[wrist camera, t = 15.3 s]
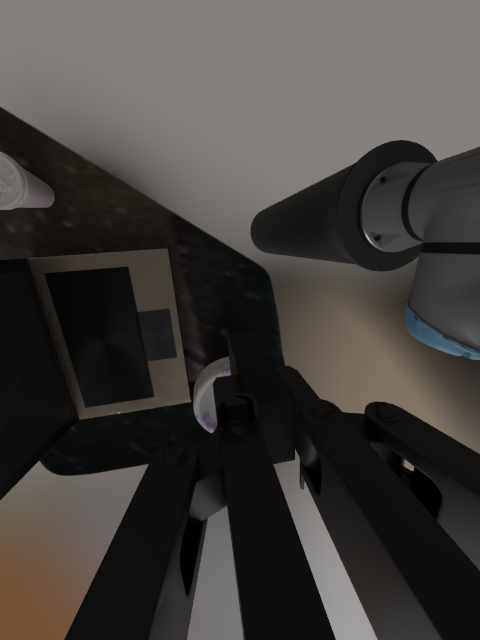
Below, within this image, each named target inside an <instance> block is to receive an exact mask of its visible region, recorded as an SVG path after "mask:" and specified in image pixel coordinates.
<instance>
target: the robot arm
mask: <svg viewBox="0 0 480 640" xmlns="http://www.w3.org/2000/svg"><path fill="white" fill-rule="evenodd" d="M357 225H358V229H359V232H360V234H361V237H362V238H363V240H364V241H365V242H366V243H367V245H369V246H370V247H371V248H373V249H375V250H378V251H381V252H399V251H403V250H406V249H408V248H411V247H414V246H416V245H419V244H422V247H421V251H420V254H419V259H418V263H417V267H416V271H415V275H414V279H413V284H412V288H411V292H410V296H409V299H408V300H407V303H406V305H407V312H406V318H405V325H406V328H407V329H408V331H409V332H410V334H412V335H413V336H414V337H415V338H417V339H418V340H419V341H421V342H423V343H425V344H427V345H429V346H431V347H433V348H436V349H438V350H441V351H443V352H446V353H449V354H452V355H456V356H461V355H462V356H464V357H467V358H469V359H475V360H480V147H478V148H475V149H472V150H469V151H466V152H464V153H461V154H458V155H455V156H452V157H449V158H446V159H444V160H441V161H438V162H435V163H416V162H401V163H398V164H395V165H392V166H390V167H387V168H385V169H383V170H381V171H380V172H378V173H377V174H376V175H375V176H374V177H373V178H372V179H371V180H370V181H369V182H368V184H367V185H366V187H365V188H364V190H363V192H362V194H361V197H360V200H359V203H358V208H357ZM227 339H228V350H229V362H230V373H231V375H228V376H222V377H216V379H215V381H214V382H213V392H214V401H215V409H216V418H217V426H216V429H215V430H214V432H213V433H212V434H211V435H210V436H209V437H208V438H206V439H204V440H202V441H200V442H198V443H196V444H195V443H194V442H193V441H191V440H190V439H185V438H178V439H173V440H171V441H168V442H166V443H164V444H163V445H162V446H160V447H159V448H158V449H157V451H156V452H155V453H154V455H153V456H152V459H151V461H150V463H149V465H148V467H147V469H146V471H145V474H144V475H143V477H142V480H141V481H140V483H139V486H138V488H137V490H136V492H135V494H134V496H133V498H132V500H131V503H130V504H129V506H128V508H127V511H126V513H125V515H124V517H123V519H122V521H121V523H120V525H119V527H118V529H117V531H116V534H115V536H114V538H113V540H112V542H111V544H110V546H109V548H108V550H107V552H106V555H105V556H104V559H103V561H102V563H101V565H100V567H99V569H98V571H97V573H96V575H95V577H94V579H93V581H92V583H91V585H90V588H89V590H88V592H87V594H86V596H85V598H84V600H83V602H82V604H81V606H80V608H79V611H78V613H77V615H76V617H75V619H74V621H73V623H72V625H71V627H70V629H69V631H68V633H67V635H66V637H65V640H187V635H188V629H189V624H190V617H191V612H192V606H193V600H194V595H195V589H196V583H197V577H198V572H199V566H200V561H201V555H202V549H203V543H204V538H205V532H206V525H207V519H208V517H209V516H211V515H213V514H214V513H216V512H218V511H219V510H221V509H222V508H224V507H226V506H227V509H228V517H229V524H230V532H231V540H232V549H233V556H234V565H235V572H236V581H237V589H238V597H239V604H240V613H241V621H242V629H243V637H244V640H336V639H335V636H334V634H333V631H332V628H331V625H330V622H329V619H328V617H327V614H326V611H325V608H324V606H323V603H322V600H321V597H320V594H319V591H318V589H317V586H316V583H315V580H314V577H313V575H312V572H311V569H310V567H309V563H308V561H307V558H306V555H305V552H304V549H303V547H302V544H301V541H300V538H299V536H298V533H297V530H296V527H295V524H294V521H293V518H292V516H291V513H290V510H289V507H288V504H287V502H286V499H285V496H284V493H283V490H282V488H281V485H280V482H279V479H278V477H277V474H276V471H275V468H274V465H273V464H277V463H282V462H287V461H292V460H295V449H296V451H297V453H298V455H299V457H300V487H301V489H304V480H305V482H306V484H307V487H308V489H309V491H310V493H311V495H312V497H313V500H314V502H315V504H316V506H317V508H318V511H319V513H320V515H321V517H322V519H323V521H324V524H325V526H326V528H327V530H328V532H329V534H330V537H331V539H332V541H333V543H334V545H335V547H336V550H337V552H338V554H339V556H340V558H341V561H342V563H343V565H344V567H345V569H346V571H347V574H348V576H349V578H350V580H351V582H352V584H353V587H354V589H355V591H356V593H357V595H358V597H359V600H360V602H361V604H362V606H363V608H364V611H365V613H366V615H367V617H368V619H369V621H370V624H371V626H372V628H373V630H374V632H375V635H376V637H377V639H378V640H480V454H479V453H477V452H475V451H473V450H472V449H470V448H468V447H467V446H465V445H463V444H462V443H460V442H458V441H456V440H455V439H453V438H451V437H450V436H448V435H446V434H445V433H443V432H441V431H439V430H438V429H436V428H434V427H433V426H431V425H429V424H427V423H426V422H424V421H422V420H421V419H419V418H417V417H415V416H414V415H412V414H410V413H409V412H407V411H405V410H404V409H402V408H400V407H398V406H396V405H393V404H389V403H386V402H373V403H369V404H368V405H367V406H366V408H365V414H359V413H346V412H342V411H341V410H340V409H339V408H338V407H337V406H336V405H335V404H333V403H331V402H329V401H326V400H322V399H320V398H319V397H318V396H317V394H316V393H315V392H314V391H313V390H312V388H311V387H310V386H309V384H308V383H306V381H305V380H304V378H302V376H301V374H300V373H299V372H298V371H297V370H295V369H294V368H292V367H290V366H284V367H277V368H276V367H275V365H274V364H273V362H272V361H271V359H270V358H269V356H268V355H267V353H266V351H265V350H264V348H263V347H262V345H261V344H260V342H259V341H258V339H257V338H256V336H255V335H254V333H253V332H252V331H251V332H243V333H235V334H227ZM405 460H407V461H408V462H409V463H411V464H412V465H413V466H414V471H410V470H409V469H407V468H406V467H404V462H405Z"/></svg>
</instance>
